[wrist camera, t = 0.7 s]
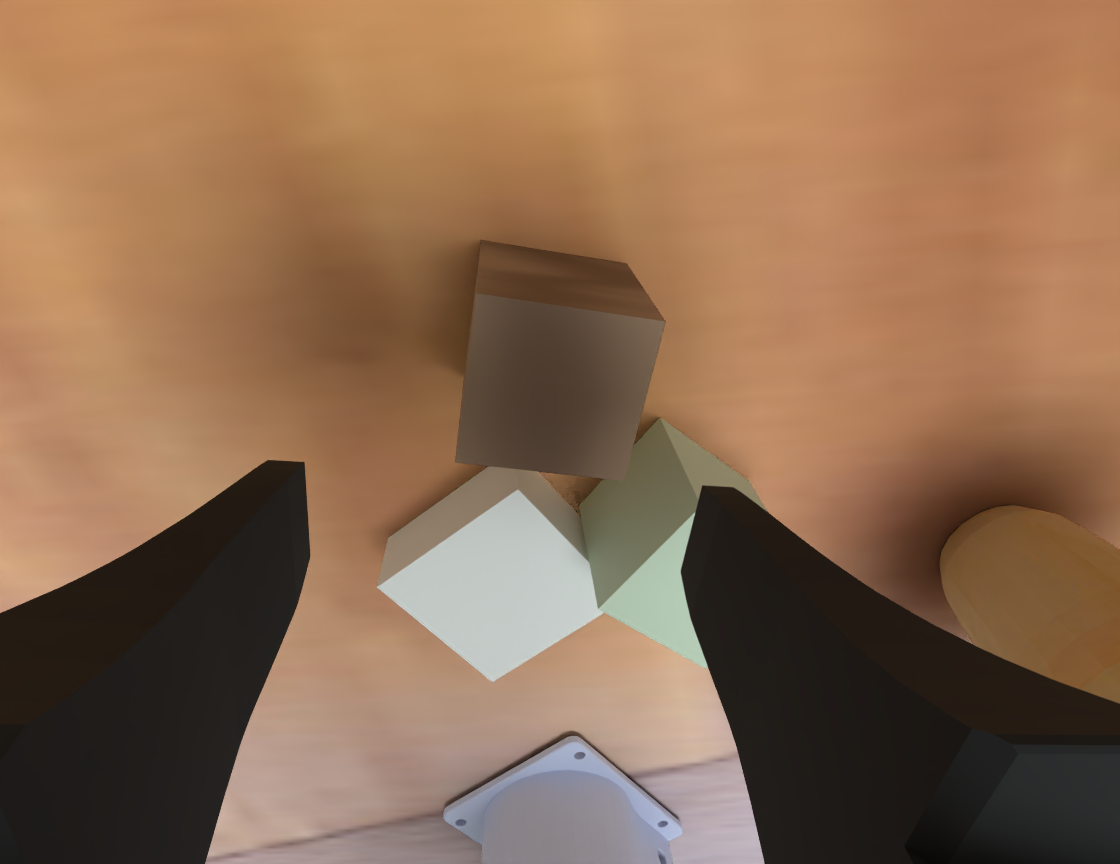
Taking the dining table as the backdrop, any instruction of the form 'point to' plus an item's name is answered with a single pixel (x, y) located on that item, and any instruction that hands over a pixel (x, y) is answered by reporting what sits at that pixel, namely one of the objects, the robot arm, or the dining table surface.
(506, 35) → the dining table surface
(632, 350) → the walnut block
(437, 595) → the ceramic slab
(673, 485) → the sage block
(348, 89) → the dining table surface
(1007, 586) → the ice cream cone
